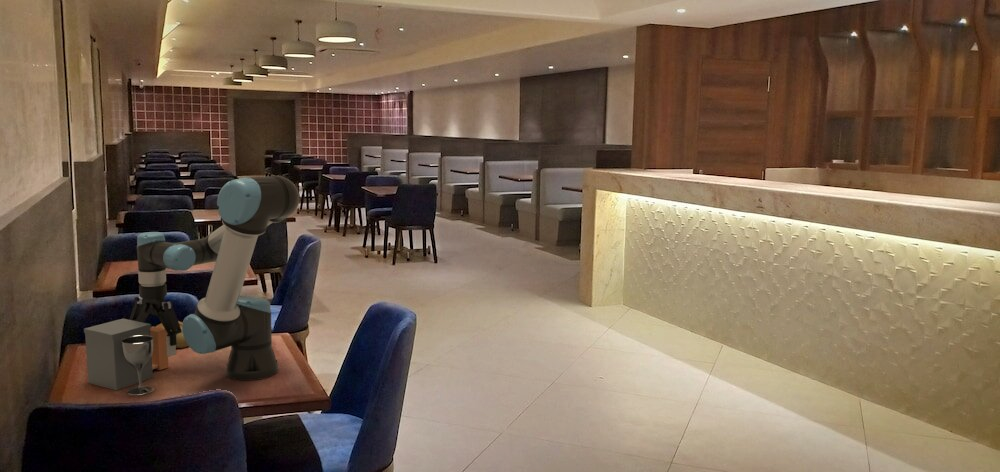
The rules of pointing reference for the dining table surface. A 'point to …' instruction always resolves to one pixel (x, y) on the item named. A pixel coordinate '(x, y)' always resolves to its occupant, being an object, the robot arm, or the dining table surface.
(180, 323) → the bread roll
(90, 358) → the gray box
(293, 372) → the dining table surface
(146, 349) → the wine glass
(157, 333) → the l-shaped block
